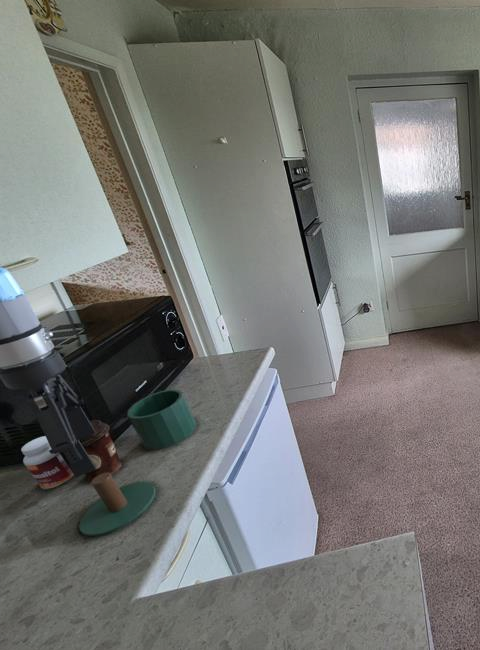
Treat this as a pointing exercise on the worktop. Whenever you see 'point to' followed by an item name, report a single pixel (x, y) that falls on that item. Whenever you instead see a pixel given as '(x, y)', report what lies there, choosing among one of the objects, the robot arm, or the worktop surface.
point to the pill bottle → (45, 464)
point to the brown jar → (100, 450)
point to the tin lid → (115, 505)
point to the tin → (162, 419)
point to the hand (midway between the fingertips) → (86, 453)
